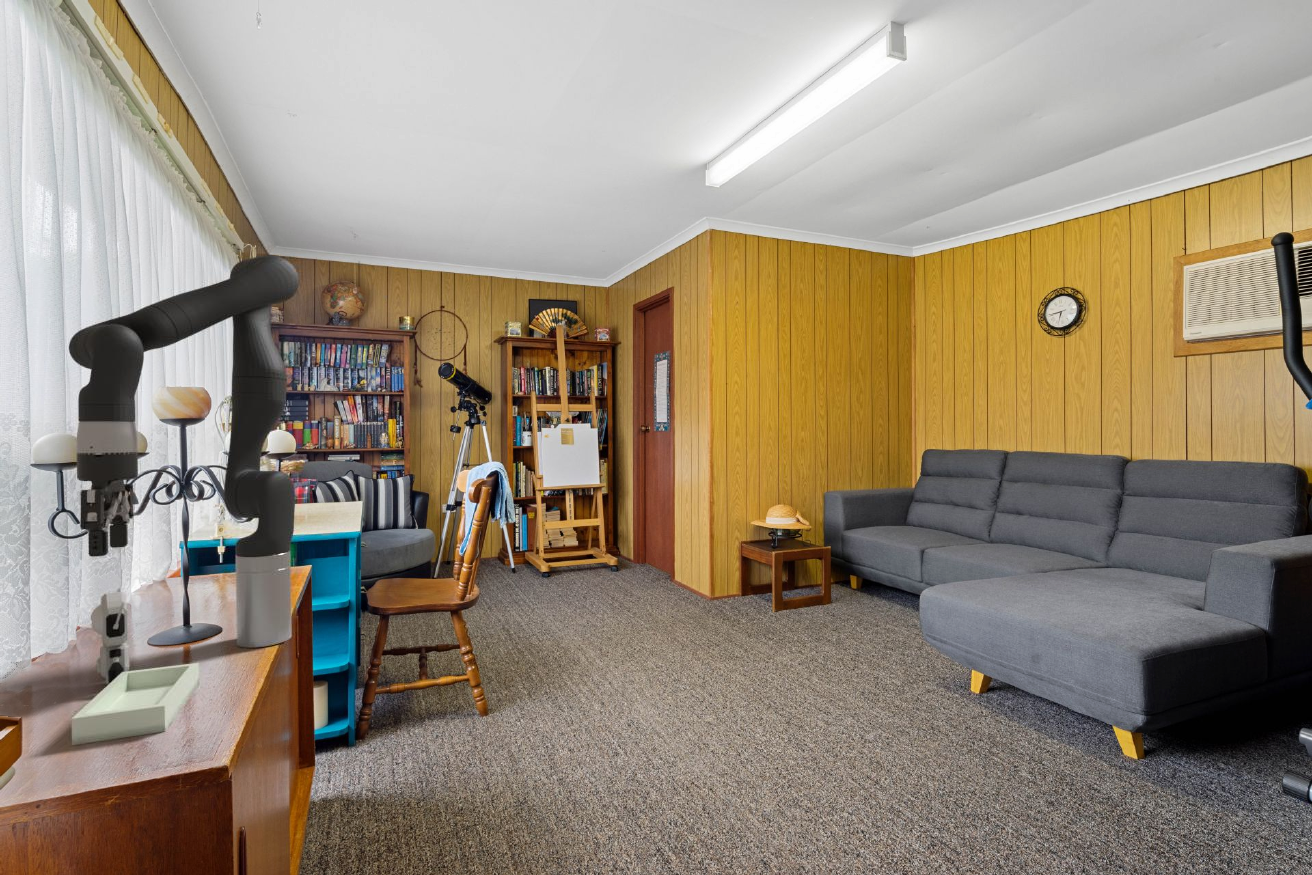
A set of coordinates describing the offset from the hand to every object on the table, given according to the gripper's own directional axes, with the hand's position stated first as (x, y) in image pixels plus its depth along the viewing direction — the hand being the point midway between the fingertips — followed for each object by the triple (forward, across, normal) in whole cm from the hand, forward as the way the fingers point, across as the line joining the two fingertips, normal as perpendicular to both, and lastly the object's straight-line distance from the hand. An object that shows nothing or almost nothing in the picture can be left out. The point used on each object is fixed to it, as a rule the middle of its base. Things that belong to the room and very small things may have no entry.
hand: (109, 551), depth 105 cm
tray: (+22, +14, +8) cm, 27 cm away
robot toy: (+22, 0, 0) cm, 22 cm away
